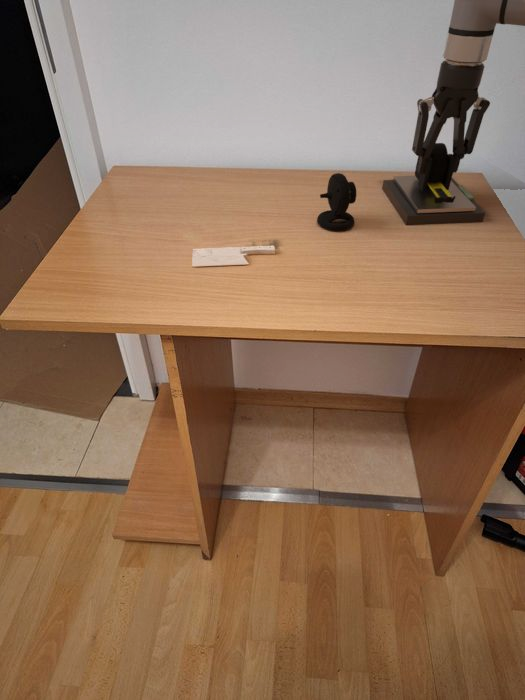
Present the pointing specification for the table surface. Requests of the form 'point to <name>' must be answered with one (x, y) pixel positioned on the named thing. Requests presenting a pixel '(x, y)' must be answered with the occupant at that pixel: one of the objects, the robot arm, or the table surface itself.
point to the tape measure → (437, 173)
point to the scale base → (429, 218)
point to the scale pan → (431, 197)
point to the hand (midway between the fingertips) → (433, 187)
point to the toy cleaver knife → (227, 255)
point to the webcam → (338, 203)
